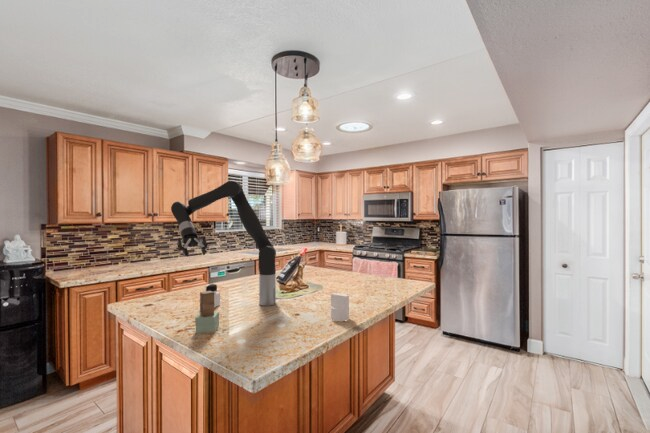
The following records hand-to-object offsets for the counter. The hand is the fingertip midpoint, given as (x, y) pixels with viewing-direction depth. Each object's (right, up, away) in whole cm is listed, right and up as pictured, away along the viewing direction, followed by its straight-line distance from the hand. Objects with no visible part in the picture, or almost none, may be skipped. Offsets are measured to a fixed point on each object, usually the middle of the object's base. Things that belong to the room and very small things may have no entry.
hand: (196, 254), depth 159 cm
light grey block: (+73, -31, -6) cm, 79 cm away
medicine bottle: (+2, -31, +16) cm, 35 cm away
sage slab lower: (+13, -31, -20) cm, 40 cm away
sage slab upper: (+13, -28, -20) cm, 37 cm away
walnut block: (+13, -24, -21) cm, 35 cm away
